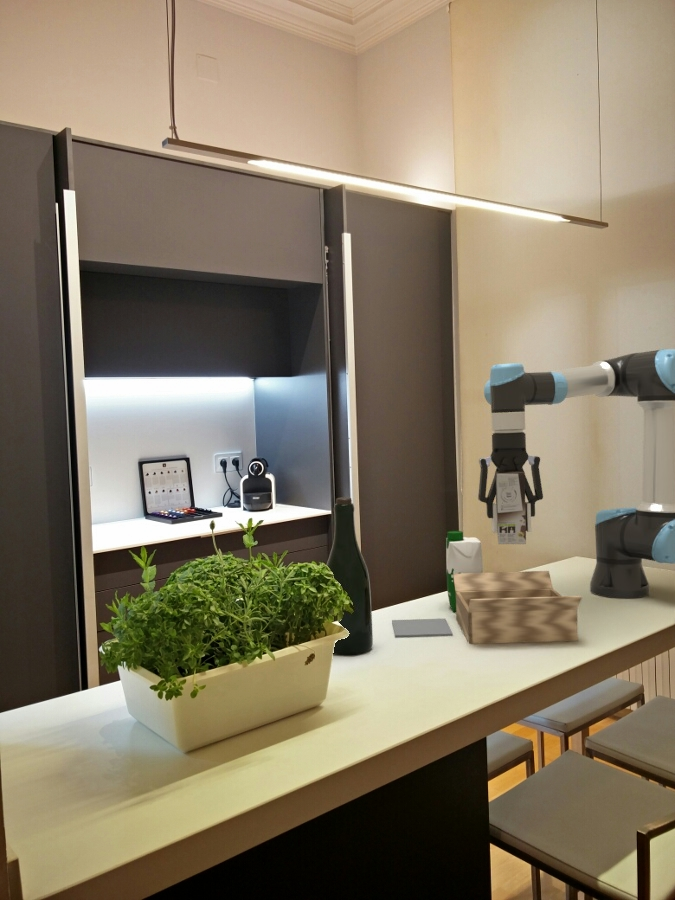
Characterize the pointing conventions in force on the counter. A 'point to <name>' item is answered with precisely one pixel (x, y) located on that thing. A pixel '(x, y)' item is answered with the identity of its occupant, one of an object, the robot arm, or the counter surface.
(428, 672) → the counter surface
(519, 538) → the coffee box
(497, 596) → the wooden box frame
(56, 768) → the counter surface
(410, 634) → the mat
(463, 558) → the milk carton
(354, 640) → the dark green wine bottle
